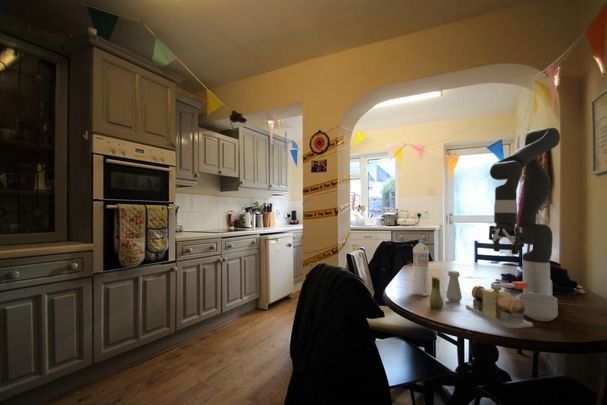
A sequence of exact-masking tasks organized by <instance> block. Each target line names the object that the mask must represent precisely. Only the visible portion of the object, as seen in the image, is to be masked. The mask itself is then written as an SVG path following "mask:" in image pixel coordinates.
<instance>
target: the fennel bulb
mask: <svg viewBox="0 0 607 405" xmlns="http://www.w3.org/2000/svg"><path fill="white" fill-rule="evenodd" d="M440 285H441V283H440V278H439V277H436V276H432V277H431V291H430V296H429V306H430V307H431V308H432V309H437V310H440V309H442V308H443V306H444V300H443V298H442V295H441V290H440V289H441V288H440V287H441V286H440Z"/></svg>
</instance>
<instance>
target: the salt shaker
mask: <svg viewBox="0 0 607 405" xmlns="http://www.w3.org/2000/svg"><path fill="white" fill-rule="evenodd" d="M447 275H448V276H449V280H448V285H447V290H446V295H445V296H446V298H447V301H448V302H449V303H452V304H459V303H460V302H461V300H462V298H463V296H462V295H463V294H462V290H461V286H460V281H459V278H460V276H461V275H460V272H459V271H457V270H453V269H452V270H449V271H448V272H447Z"/></svg>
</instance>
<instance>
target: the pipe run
mask: <svg viewBox="0 0 607 405" xmlns="http://www.w3.org/2000/svg"><path fill="white" fill-rule="evenodd" d="M471 296H472V298H473V300H472V304H465V308H466V309H467V310H469V311H471V312H473V311H474V313H475V314H478V315H480V316H482V317H485V318H487V319H488V320H490V321H493V322H495V323H497V324H499V325H501V326H504V327H506V328H507V329H519V328H520V329H522V328H534V323H533V322H531V321H528V320H526V319H524V312H525V303H524V302H523V301H522V300H520V298H516V297H515V298H511V296H512V294H511V292H508V291H505V290H495V289H491V288H485V287H484V286H481V285H476V286H474V287H473V288H472V289H471Z"/></svg>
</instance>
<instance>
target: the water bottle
mask: <svg viewBox="0 0 607 405" xmlns="http://www.w3.org/2000/svg"><path fill="white" fill-rule="evenodd" d="M423 242H424V239H418V243H416V244H415V246H414V247H412V253H413V254H412V257H413V258H412V273H413V274H412V290H413V291H412V293H413V294H414V295H415V296H419V297H428V296H429V294H430V279H429V278H430V266H429V262H430V261H429V260H430V258H429V257H430V256H429V253H430V250H429V248H428V246H427V245H426V244H424V243H423Z"/></svg>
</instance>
